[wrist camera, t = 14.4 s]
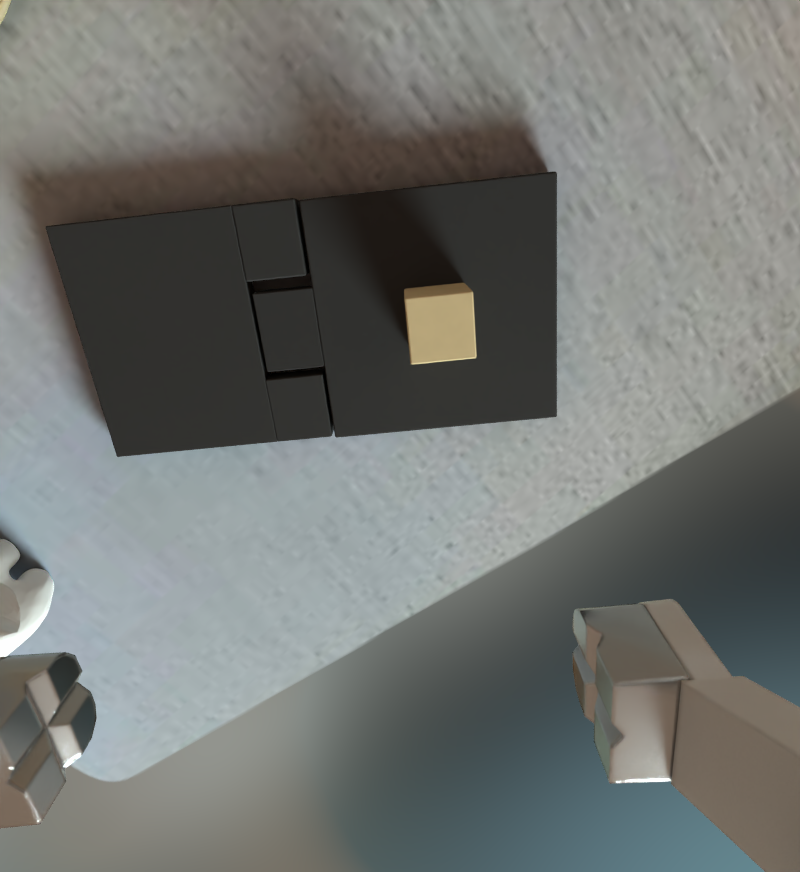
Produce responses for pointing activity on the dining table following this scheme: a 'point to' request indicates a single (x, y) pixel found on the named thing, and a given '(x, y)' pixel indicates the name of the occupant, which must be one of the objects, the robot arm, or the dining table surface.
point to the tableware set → (3, 8)
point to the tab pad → (419, 255)
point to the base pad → (188, 326)
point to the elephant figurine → (21, 600)
